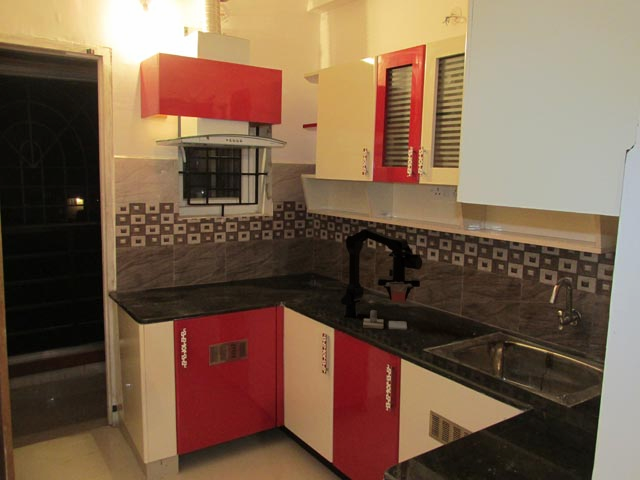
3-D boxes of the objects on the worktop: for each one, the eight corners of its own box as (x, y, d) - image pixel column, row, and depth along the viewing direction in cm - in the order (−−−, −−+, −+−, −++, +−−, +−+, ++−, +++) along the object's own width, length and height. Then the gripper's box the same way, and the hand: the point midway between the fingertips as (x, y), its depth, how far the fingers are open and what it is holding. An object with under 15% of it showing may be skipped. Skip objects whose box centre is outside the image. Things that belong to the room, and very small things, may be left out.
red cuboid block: (391, 302, 243) (391, 293, 242) (391, 298, 249) (391, 290, 248) (405, 302, 242) (405, 293, 241) (404, 299, 248) (404, 290, 247)
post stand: (364, 321, 254) (364, 308, 253) (383, 322, 253) (383, 308, 252) (363, 327, 244) (363, 313, 243) (383, 328, 243) (383, 314, 242)
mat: (388, 322, 252) (388, 320, 252) (406, 323, 251) (406, 321, 251) (388, 328, 243) (388, 327, 242) (406, 329, 242) (406, 327, 241)
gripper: (419, 264, 250) (417, 297, 252) (378, 263, 252) (377, 295, 254) (420, 268, 239) (419, 303, 241) (378, 267, 241) (377, 301, 243)
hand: (398, 300), depth 245 cm, fingers closed on red cuboid block, 6 cm apart
